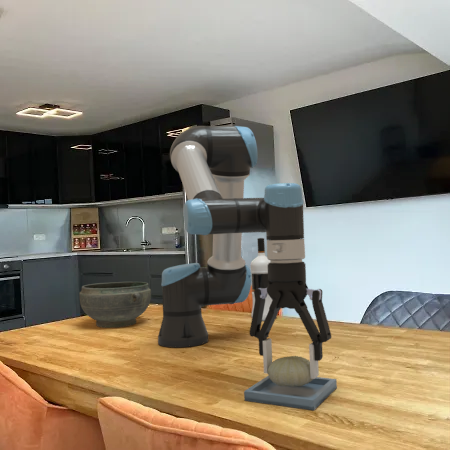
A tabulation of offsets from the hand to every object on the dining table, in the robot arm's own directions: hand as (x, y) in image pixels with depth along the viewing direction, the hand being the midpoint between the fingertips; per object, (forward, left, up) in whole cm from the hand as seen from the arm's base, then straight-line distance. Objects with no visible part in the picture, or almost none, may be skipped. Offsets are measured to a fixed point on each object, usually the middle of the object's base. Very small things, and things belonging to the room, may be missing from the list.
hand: (290, 374), depth 100 cm
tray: (0, 0, -4) cm, 4 cm away
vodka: (-41, +76, -4) cm, 86 cm away
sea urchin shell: (0, 0, -2) cm, 2 cm away
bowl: (-90, +51, -4) cm, 103 cm away
